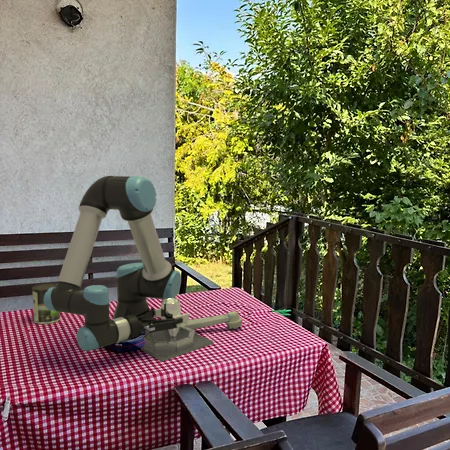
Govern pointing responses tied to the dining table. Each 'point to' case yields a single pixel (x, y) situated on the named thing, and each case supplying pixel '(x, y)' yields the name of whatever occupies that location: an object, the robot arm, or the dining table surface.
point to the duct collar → (173, 343)
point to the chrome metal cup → (171, 317)
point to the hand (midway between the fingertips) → (178, 313)
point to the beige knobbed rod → (215, 321)
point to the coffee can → (40, 311)
